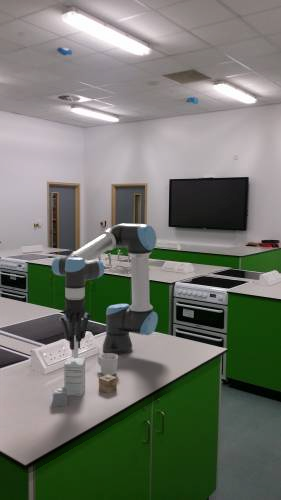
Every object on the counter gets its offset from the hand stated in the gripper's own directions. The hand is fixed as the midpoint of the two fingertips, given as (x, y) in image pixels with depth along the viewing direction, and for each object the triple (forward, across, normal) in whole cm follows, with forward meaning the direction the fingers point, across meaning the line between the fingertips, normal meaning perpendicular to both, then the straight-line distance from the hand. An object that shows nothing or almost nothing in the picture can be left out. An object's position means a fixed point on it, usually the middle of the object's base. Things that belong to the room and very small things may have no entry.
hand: (74, 356), depth 170 cm
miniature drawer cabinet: (+14, 0, 0) cm, 14 cm away
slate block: (+14, +9, +6) cm, 18 cm away
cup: (+14, -20, -10) cm, 27 cm away
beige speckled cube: (+14, -12, +5) cm, 19 cm away
